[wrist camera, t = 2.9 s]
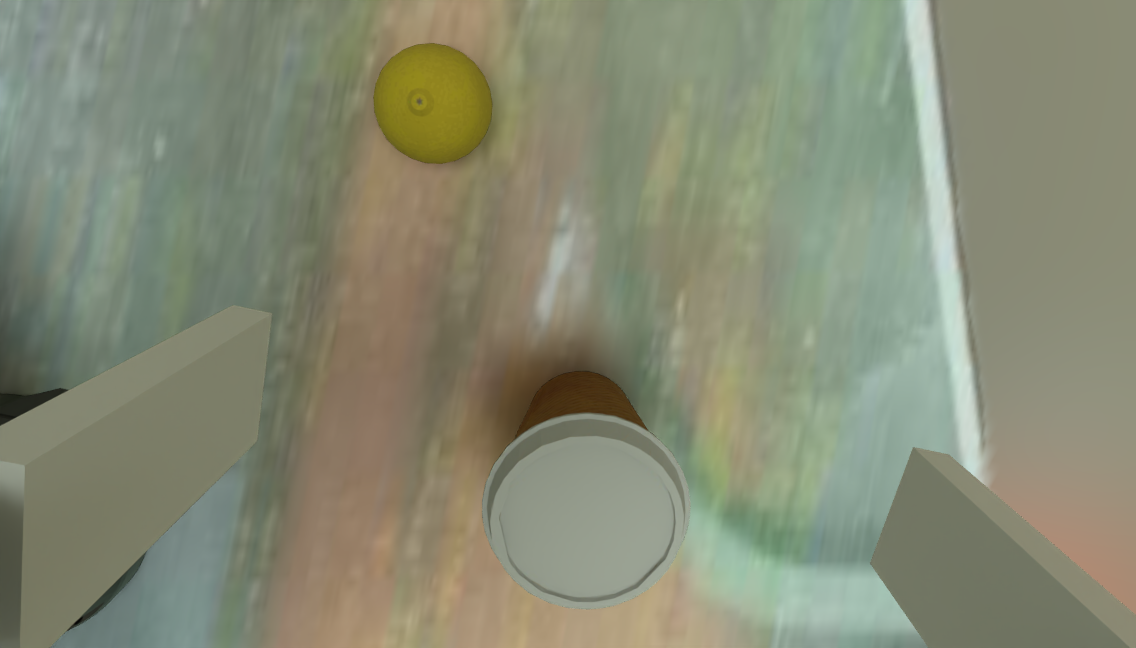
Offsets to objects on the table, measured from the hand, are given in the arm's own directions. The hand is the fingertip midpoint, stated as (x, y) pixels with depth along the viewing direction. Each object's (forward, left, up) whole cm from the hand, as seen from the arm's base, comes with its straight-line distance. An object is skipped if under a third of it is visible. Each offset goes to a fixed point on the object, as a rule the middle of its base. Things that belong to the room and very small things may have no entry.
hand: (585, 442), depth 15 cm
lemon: (-8, +6, -27) cm, 29 cm away
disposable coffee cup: (+3, -10, -27) cm, 29 cm away
